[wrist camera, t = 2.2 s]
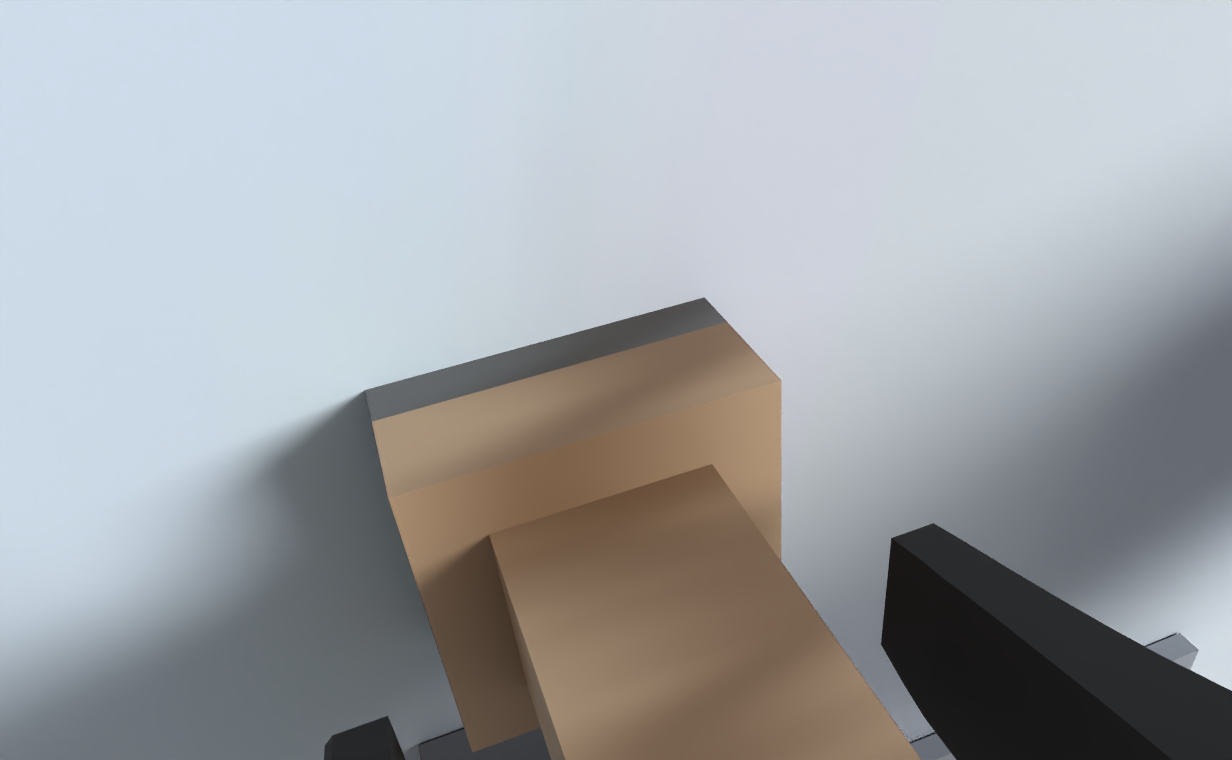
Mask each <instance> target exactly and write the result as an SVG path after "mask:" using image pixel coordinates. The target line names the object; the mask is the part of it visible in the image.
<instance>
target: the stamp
mask: <svg viewBox="0 0 1232 760" xmlns="http://www.w3.org/2000/svg"><path fill="white" fill-rule="evenodd" d="M365 393H366V397H367V402H368V407H369V411H370V416H371V421H372V425H373V430H374V435H375V439H376V444H377V449H378V453H379V458H380V462H381V467H382V472H383V476H384V481H385V486H386V490H387V495H388V499H389V502H390V505H391V508H392V511H393V514H394V517H395V520H396V523H397V526H398V529H399V532H400V536H401V539H402V542H403V545H404V548H405V551H406V554H407V557H408V560H409V563H410V566H411V569H412V572H413V575H414V578H415V581H416V584H417V587H418V590H419V593H420V596H421V599H422V602H423V605H424V608H425V611H426V614H427V617H428V620H429V623H430V626H431V629H432V632H433V635H434V638H435V641H436V644H437V647H438V650H439V653H440V656H441V659H442V662H443V665H444V668H445V671H446V674H447V677H448V680H449V683H450V686H451V689H452V692H453V695H454V698H455V701H456V704H457V707H458V710H459V713H460V717H461V720H462V723H463V726H464V729H465V732H466V735H467V738H468V741H469V744H470V747H471V750H472V753H473V752H476V751H478V750H481V749H484V748H486V747H489V746H492V745H495V744H497V743H500V742H503V741H505V740H508V739H511V738H514V737H516V736H519V735H522V734H524V733H527V732H530V731H533V730H535V729H538V728H541V730H542V733H543V736H544V739H545V742H546V745H547V748H548V751H549V754H550V757H551V760H921V759H920V757H919V756H918V754H917V753H916V751H915V750H914V749H913V747H912V746H911V744H910V743H909V742H908V740H907V739H906V737H905V736H904V734H903V733H902V732H901V730H900V729H899V727H898V726H897V725H896V723H895V722H894V720H893V719H892V718H891V716H890V715H889V713H888V712H887V710H886V709H885V708H884V706H883V705H882V703H881V702H880V701H879V699H878V698H877V696H876V695H875V693H874V692H873V691H872V689H871V688H870V686H869V685H868V684H867V682H866V681H865V679H864V678H863V677H862V675H861V674H860V672H859V671H858V669H857V668H856V667H855V665H854V664H853V662H852V661H851V660H850V658H849V657H848V655H847V654H846V652H845V651H844V650H843V648H842V647H841V645H840V644H839V643H838V641H837V640H836V638H835V637H834V635H833V634H832V633H831V631H830V630H829V628H828V627H827V626H826V624H825V623H824V621H823V620H822V619H821V617H820V616H819V614H818V613H817V611H816V610H815V609H814V607H813V606H812V604H811V603H810V602H809V600H808V599H807V597H806V596H805V594H804V593H803V592H802V590H801V589H800V587H799V586H798V585H797V583H796V582H795V580H794V579H793V578H792V576H791V575H790V573H789V572H788V570H787V569H786V568H785V566H784V565H783V563H782V562H781V380H780V379H779V378H778V376H777V375H776V374H775V373H774V372H773V371H772V370H771V369H770V368H769V367H768V366H767V365H766V363H765V362H764V361H763V360H762V359H761V358H760V357H759V356H758V355H757V354H756V353H755V352H754V351H753V349H752V348H751V347H750V346H749V345H748V344H747V343H746V342H745V341H744V340H743V339H742V338H741V336H740V335H739V334H738V333H737V332H736V331H735V330H734V329H733V328H732V327H731V326H730V325H729V323H728V322H727V321H726V320H725V319H724V318H723V317H722V316H721V315H720V314H719V313H718V312H717V310H716V309H715V308H714V307H713V306H712V305H711V304H710V303H709V302H708V301H707V300H706V299H705V298H701V299H697V300H694V301H690V302H686V303H683V304H679V305H675V306H672V307H668V308H664V309H661V310H657V311H653V312H650V313H646V314H642V315H639V316H635V317H631V318H628V319H624V320H620V321H617V322H613V323H609V324H606V325H602V326H599V327H595V328H591V329H588V330H584V331H580V332H577V333H573V334H569V335H566V336H562V337H558V338H555V339H551V340H547V341H544V342H540V343H536V344H533V345H529V346H525V347H522V348H518V349H514V350H511V351H507V352H503V353H500V354H496V355H492V356H489V357H485V358H481V359H478V360H474V361H470V362H467V363H463V364H459V365H456V366H452V367H448V368H445V369H441V370H437V371H434V372H430V373H426V374H423V375H419V376H415V377H412V378H408V379H404V380H401V381H397V382H393V383H390V384H386V385H383V386H379V387H375V388H372V389H368V390H365Z"/></svg>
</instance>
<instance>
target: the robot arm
mask: <svg viewBox="0 0 1232 760" xmlns="http://www.w3.org/2000/svg"><path fill="white" fill-rule="evenodd" d="M881 645H882V647H883V649H884V650H885V652H886V654H887V655H888V657H889V659H890V661H891V662H892V664H893V666H894V668H895V669H896V671H897V673H898V675H899V676H900V678H901V680H902V682H903V683H904V685H905V687H906V688H907V690H908V691H909V693H910V695H911V696H912V698H913V700H914V701H915V703H916V705H917V706H918V708H919V709H920V711H921V713H922V714H923V716H924V717H925V719H926V720H927V721H928V723H929V724H930V725H931V727H932V728H933V729H934V731H935V732H936V734H937V735H938V736H939V738H940V739H941V740H942V741H943V743H944V744H945V745H946V747H947V748H948V749H949V751H950V752H951V753H952V755H953V756H954V757H955V759H956V760H1232V691H1231V690H1229V689H1227V688H1225V687H1222V686H1220V685H1218V684H1216V683H1214V682H1212V681H1210V680H1208V679H1207V678H1205V677H1203V676H1201V675H1199V674H1197V673H1195V672H1193V671H1191V670H1189V669H1187V668H1185V667H1183V666H1181V665H1179V664H1177V663H1175V662H1173V661H1171V660H1169V659H1167V658H1165V657H1163V656H1161V655H1160V654H1158V653H1156V652H1154V651H1152V650H1150V649H1148V648H1146V647H1145V646H1143V645H1141V644H1139V643H1137V642H1135V641H1133V640H1132V639H1130V638H1128V637H1126V636H1124V635H1122V634H1121V633H1119V632H1117V631H1115V630H1113V629H1112V628H1110V627H1108V626H1106V625H1104V624H1103V623H1101V622H1099V621H1097V620H1096V619H1094V618H1092V617H1090V616H1089V615H1087V614H1085V613H1083V612H1081V611H1080V610H1078V609H1076V608H1074V607H1073V606H1071V605H1069V604H1068V603H1066V602H1064V601H1062V600H1061V599H1059V598H1057V597H1056V596H1054V595H1052V594H1050V593H1049V592H1047V591H1045V590H1044V589H1042V588H1040V587H1039V586H1037V585H1035V584H1034V583H1032V582H1030V581H1029V580H1027V579H1025V578H1024V577H1022V576H1020V575H1019V574H1017V573H1015V572H1013V571H1012V570H1010V569H1008V568H1007V567H1005V566H1004V565H1002V564H1000V563H999V562H997V561H995V560H994V559H992V558H990V557H989V556H987V555H985V554H984V553H982V552H980V551H979V550H977V549H975V548H974V547H972V546H970V545H969V544H967V543H966V542H964V541H962V540H961V539H959V538H957V537H956V536H954V535H952V534H951V533H949V532H947V531H945V530H944V529H942V528H940V527H939V526H937V525H935V524H930V525H928V526H925V527H922V528H919V529H916V530H913V531H911V532H908V533H905V534H902V535H899V536H896V537H894V538H891V548H890V559H889V569H888V579H887V589H886V600H885V610H884V620H883V630H882V641H881ZM324 760H405V757H404V755H403V752H402V750H401V748H400V745H399V743H398V740H397V738H396V735H395V733H394V730H393V728H392V725H391V723H390V720H389V718H388V716H386V717H384V718H381V719H378V720H375V721H372V722H369V723H367V724H364V725H361V726H358V727H355V728H352V729H350V730H347V731H344V732H341V733H338V734H335V735H333V736H332V737H331V738H330V740H329V741H328V742H327V744H326V745H325V754H324Z"/></svg>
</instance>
